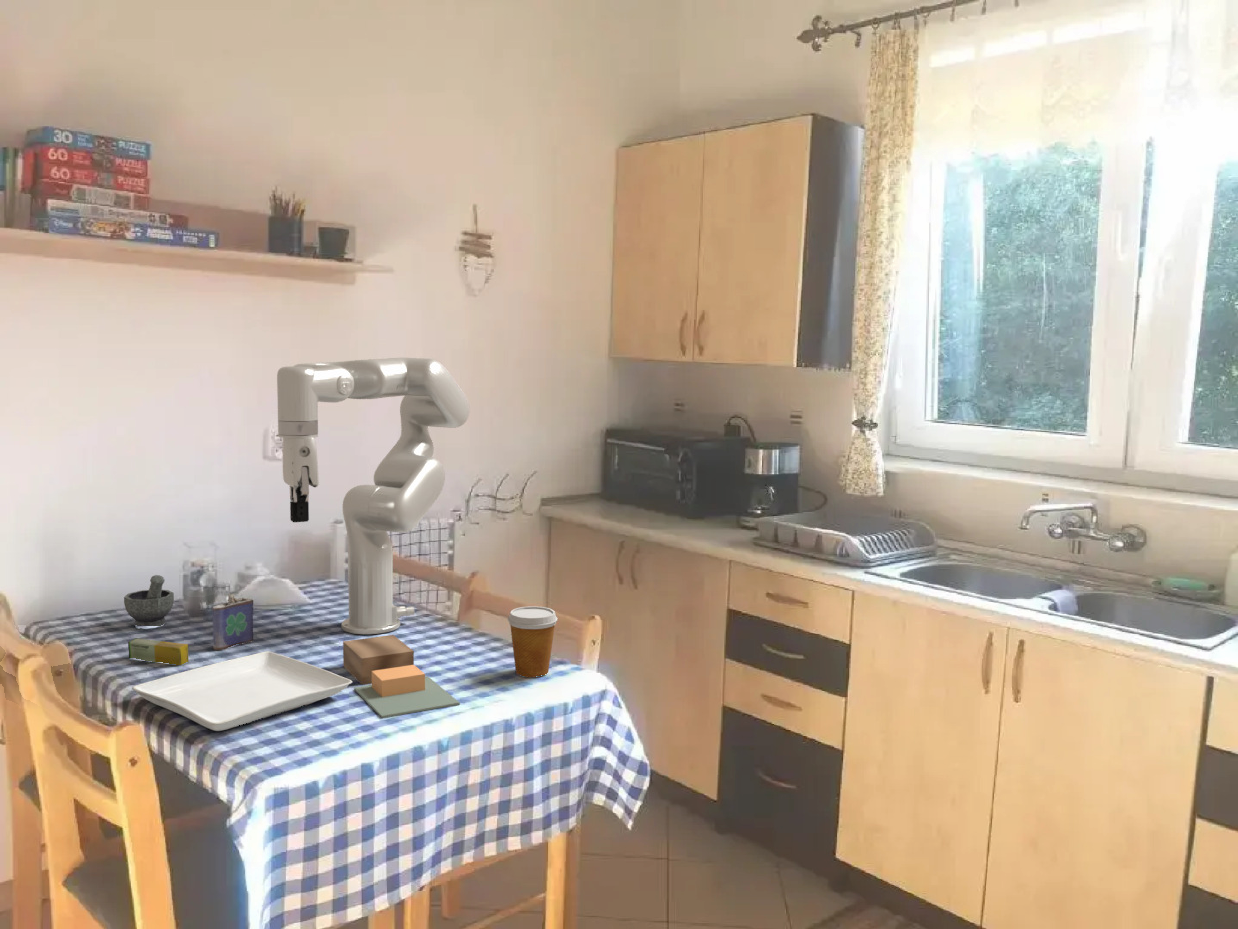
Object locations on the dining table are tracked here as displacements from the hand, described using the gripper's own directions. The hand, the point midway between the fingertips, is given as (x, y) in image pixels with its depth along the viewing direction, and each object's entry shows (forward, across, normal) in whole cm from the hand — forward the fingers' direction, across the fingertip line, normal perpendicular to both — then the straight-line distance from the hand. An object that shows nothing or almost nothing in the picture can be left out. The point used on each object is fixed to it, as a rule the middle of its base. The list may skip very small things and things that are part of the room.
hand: (299, 521), depth 206 cm
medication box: (+28, +7, +26) cm, 38 cm away
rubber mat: (+27, -34, -10) cm, 45 cm away
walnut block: (+27, -18, -10) cm, 34 cm away
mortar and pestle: (+27, +34, +24) cm, 50 cm away
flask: (+27, +12, +11) cm, 32 cm away
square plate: (+28, -22, +16) cm, 39 cm away
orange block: (+24, -30, -10) cm, 40 cm away
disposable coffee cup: (+27, -32, -36) cm, 55 cm away
